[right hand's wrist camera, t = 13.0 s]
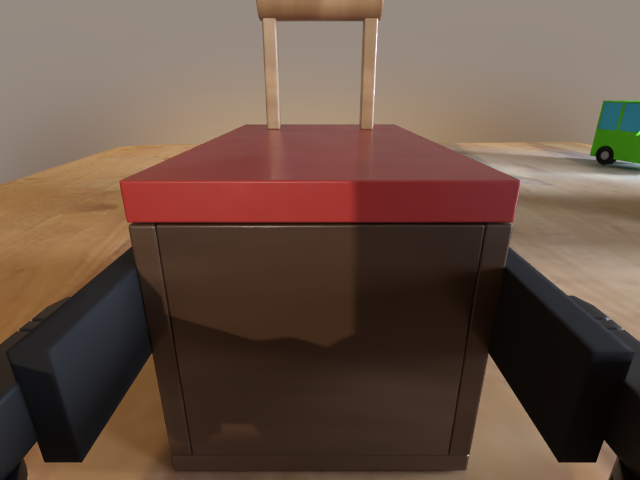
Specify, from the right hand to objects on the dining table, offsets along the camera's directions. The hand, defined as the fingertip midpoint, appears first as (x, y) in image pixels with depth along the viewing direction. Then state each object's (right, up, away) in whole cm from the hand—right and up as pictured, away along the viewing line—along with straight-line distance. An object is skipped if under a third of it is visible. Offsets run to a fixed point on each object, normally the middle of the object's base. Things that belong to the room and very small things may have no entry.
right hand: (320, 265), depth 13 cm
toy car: (+52, +12, +49) cm, 72 cm away
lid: (0, +4, +4) cm, 6 cm away
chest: (0, -4, +7) cm, 8 cm away
